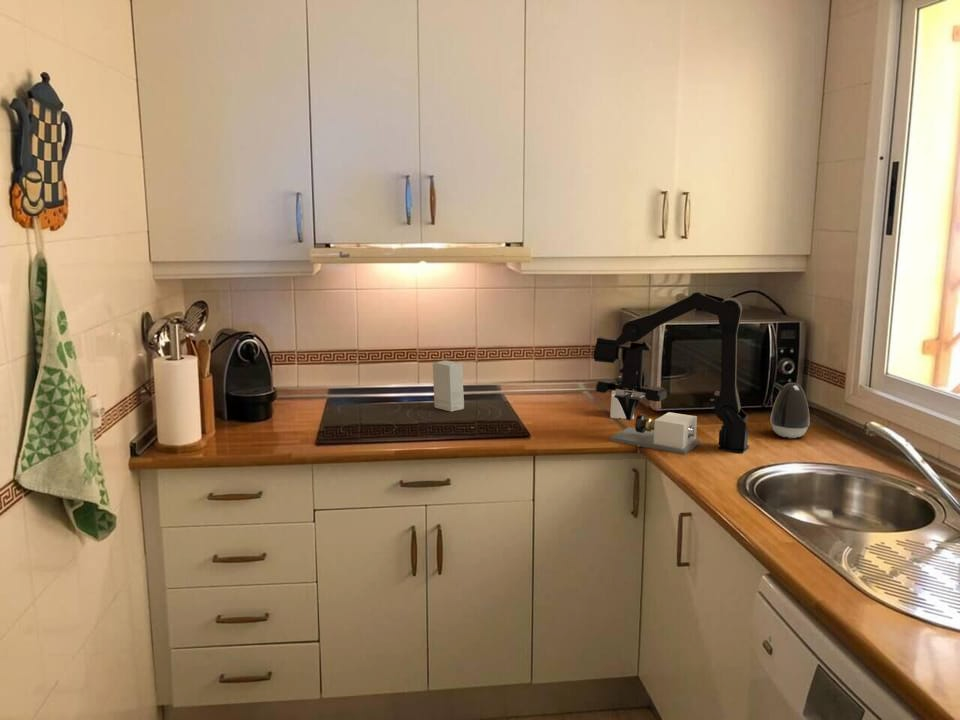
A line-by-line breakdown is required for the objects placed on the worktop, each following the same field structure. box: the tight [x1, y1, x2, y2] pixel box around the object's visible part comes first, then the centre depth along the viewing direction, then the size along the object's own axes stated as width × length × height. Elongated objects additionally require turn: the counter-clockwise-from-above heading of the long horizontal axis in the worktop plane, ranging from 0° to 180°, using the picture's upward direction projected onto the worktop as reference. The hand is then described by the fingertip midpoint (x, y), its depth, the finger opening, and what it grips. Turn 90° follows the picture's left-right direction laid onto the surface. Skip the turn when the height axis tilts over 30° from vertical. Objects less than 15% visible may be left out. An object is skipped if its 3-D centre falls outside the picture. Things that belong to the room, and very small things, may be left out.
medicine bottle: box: [609, 376, 636, 420], centre depth 243 cm, size 7×7×12 cm
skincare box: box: [432, 360, 465, 412], centre depth 251 cm, size 8×6×15 cm
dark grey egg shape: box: [769, 382, 811, 439], centre depth 223 cm, size 10×10×15 cm
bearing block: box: [609, 411, 701, 455], centre depth 217 cm, size 21×12×8 cm, turn 56°
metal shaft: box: [634, 413, 695, 437], centre depth 216 cm, size 16×5×5 cm, turn 56°
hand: (628, 420), depth 221 cm, fingers closed
